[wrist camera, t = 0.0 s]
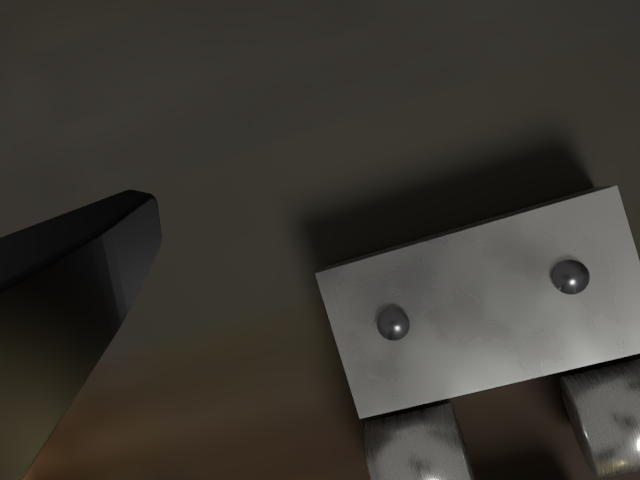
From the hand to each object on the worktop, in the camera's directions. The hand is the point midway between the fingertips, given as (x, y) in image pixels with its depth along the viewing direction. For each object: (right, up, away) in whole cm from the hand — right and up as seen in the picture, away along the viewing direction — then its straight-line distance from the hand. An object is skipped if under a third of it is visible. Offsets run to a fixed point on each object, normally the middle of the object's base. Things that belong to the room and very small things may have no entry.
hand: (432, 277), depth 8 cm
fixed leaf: (+5, -4, +14) cm, 16 cm away
